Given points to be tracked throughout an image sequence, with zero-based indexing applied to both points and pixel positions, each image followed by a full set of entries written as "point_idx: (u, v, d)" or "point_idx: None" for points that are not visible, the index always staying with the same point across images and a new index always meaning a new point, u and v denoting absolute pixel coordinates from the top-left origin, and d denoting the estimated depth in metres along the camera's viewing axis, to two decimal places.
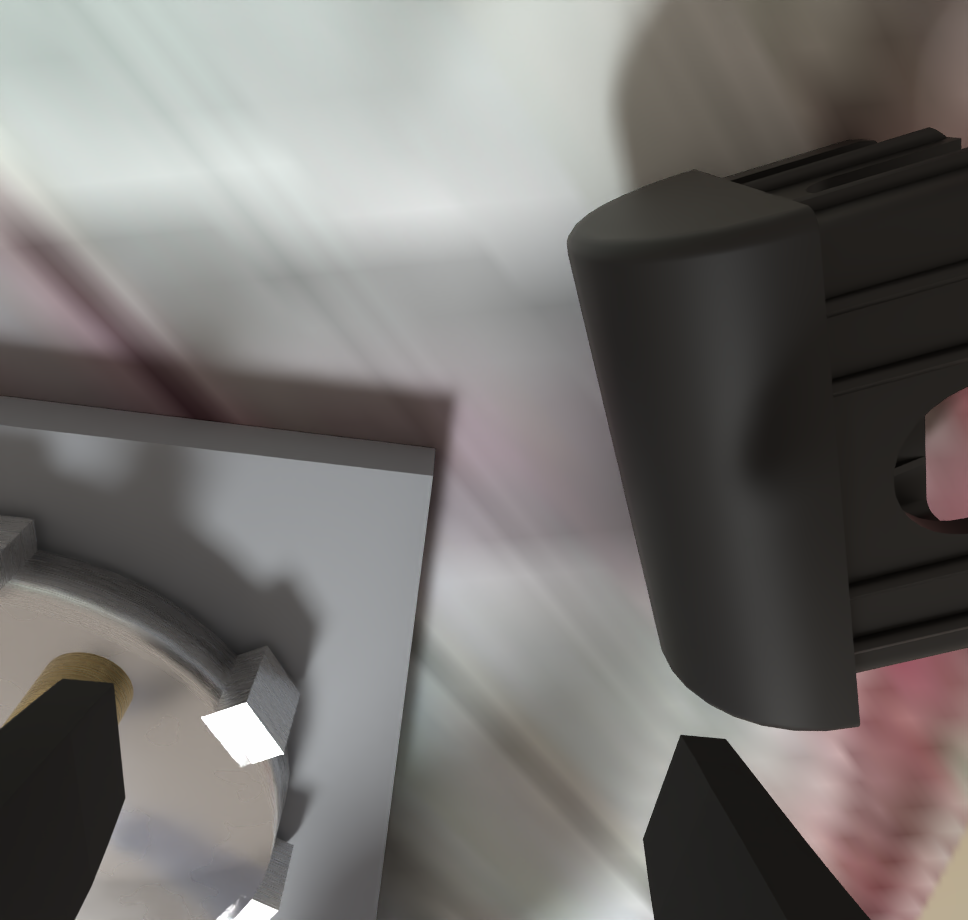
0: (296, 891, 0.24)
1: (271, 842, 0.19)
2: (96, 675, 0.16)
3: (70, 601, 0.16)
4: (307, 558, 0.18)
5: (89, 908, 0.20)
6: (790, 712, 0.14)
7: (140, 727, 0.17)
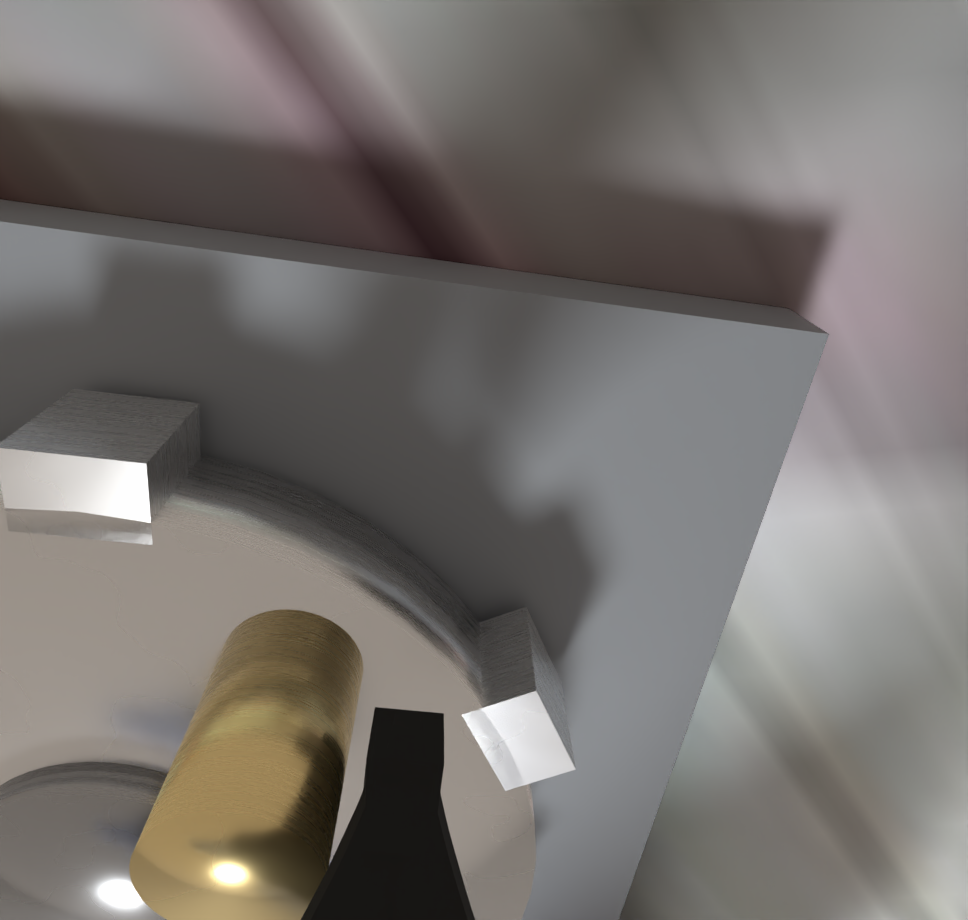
0: None
1: (526, 900, 0.13)
2: (322, 644, 0.10)
3: (268, 528, 0.10)
4: (605, 472, 0.12)
5: None
6: None
7: (364, 731, 0.11)
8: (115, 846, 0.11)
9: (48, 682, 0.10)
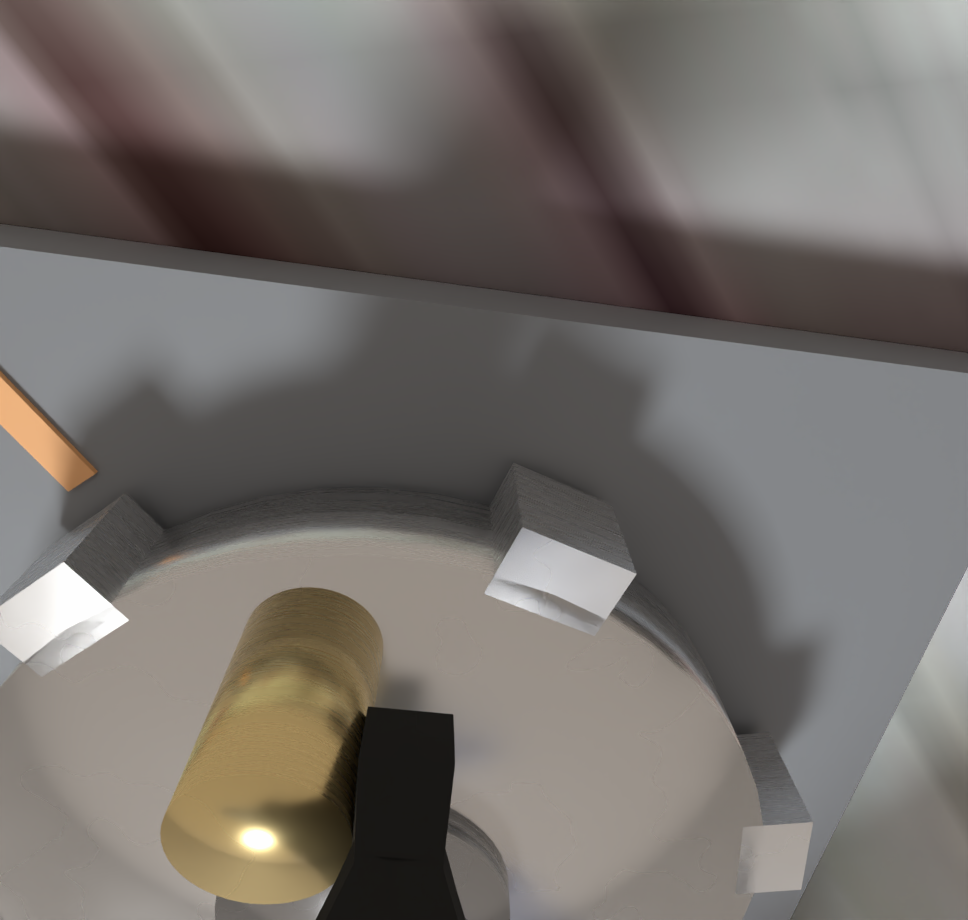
0: None
1: (726, 726, 0.11)
2: (291, 610, 0.10)
3: (212, 548, 0.11)
4: (832, 513, 0.13)
5: None
6: None
7: (422, 661, 0.11)
8: None
9: (175, 773, 0.12)
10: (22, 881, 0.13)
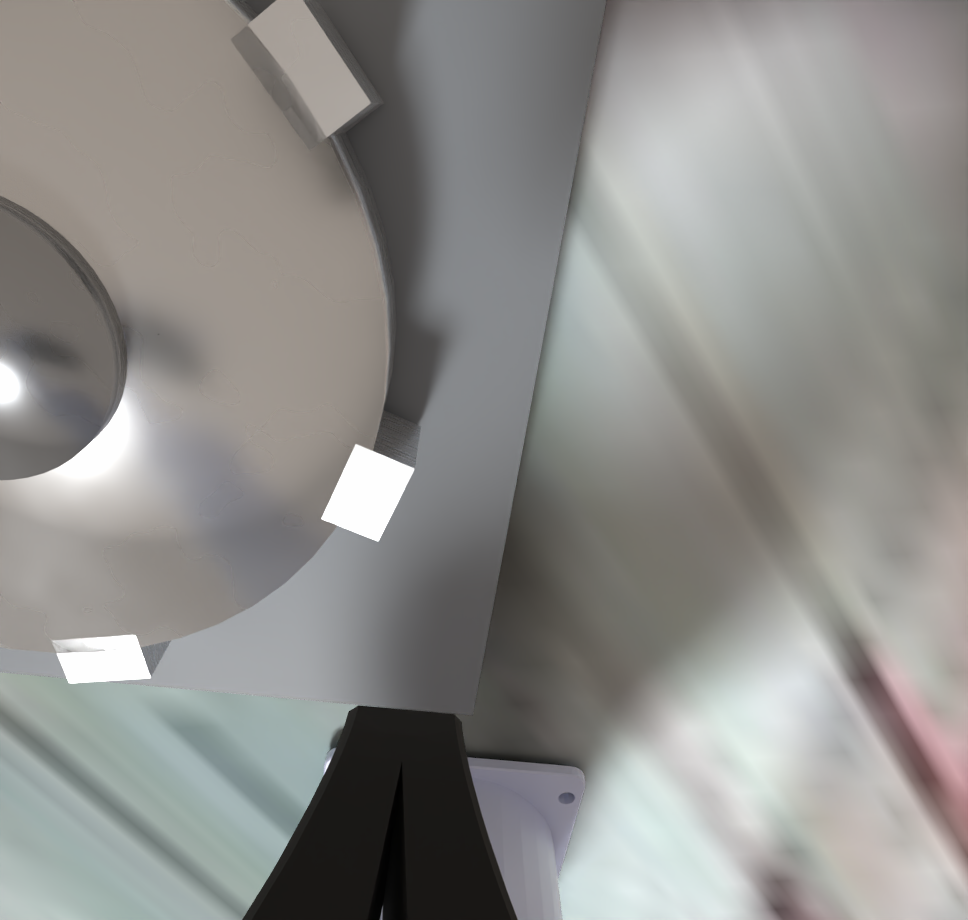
0: (386, 578, 0.18)
1: None
2: None
3: None
4: None
5: (216, 321, 0.12)
6: None
7: None
8: None
9: None
10: None
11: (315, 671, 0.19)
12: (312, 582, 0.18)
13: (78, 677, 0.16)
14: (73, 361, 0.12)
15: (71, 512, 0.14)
